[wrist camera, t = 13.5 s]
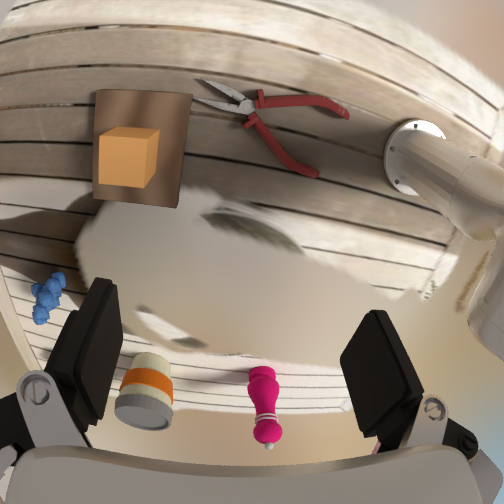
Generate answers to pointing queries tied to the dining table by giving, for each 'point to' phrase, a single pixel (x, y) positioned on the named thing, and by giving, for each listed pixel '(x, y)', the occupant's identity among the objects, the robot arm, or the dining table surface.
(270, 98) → the pliers
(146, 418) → the reusable coffee cup
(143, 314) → the dining table surface
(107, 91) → the board
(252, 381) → the pepper mill
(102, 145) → the matte orange cube
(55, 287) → the blue knobbed flower
